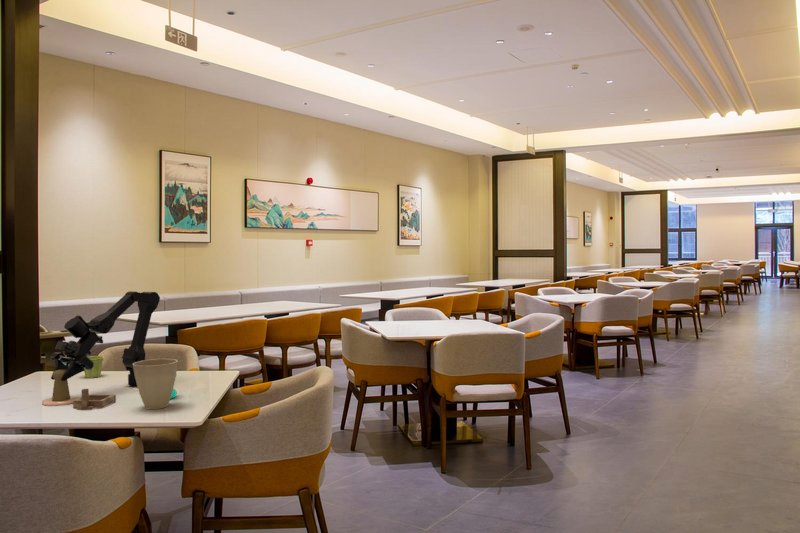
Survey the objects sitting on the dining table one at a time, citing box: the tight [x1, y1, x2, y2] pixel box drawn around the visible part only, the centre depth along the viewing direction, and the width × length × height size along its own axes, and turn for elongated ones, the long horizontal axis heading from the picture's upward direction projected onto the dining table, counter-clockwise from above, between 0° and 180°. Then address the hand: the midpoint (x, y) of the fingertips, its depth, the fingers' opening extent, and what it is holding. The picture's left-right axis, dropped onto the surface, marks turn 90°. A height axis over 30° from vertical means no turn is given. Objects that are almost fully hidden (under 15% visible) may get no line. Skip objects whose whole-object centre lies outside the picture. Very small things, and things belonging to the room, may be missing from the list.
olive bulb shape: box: [51, 370, 71, 402], centre depth 230 cm, size 6×6×11 cm
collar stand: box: [72, 388, 117, 411], centre depth 224 cm, size 12×10×7 cm
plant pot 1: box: [83, 355, 105, 379], centre depth 279 cm, size 9×9×9 cm
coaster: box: [41, 395, 80, 407], centre depth 230 cm, size 12×12×1 cm
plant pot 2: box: [133, 358, 179, 410], centre depth 222 cm, size 15×15×16 cm
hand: (57, 379), depth 229 cm, fingers open, 6 cm apart
